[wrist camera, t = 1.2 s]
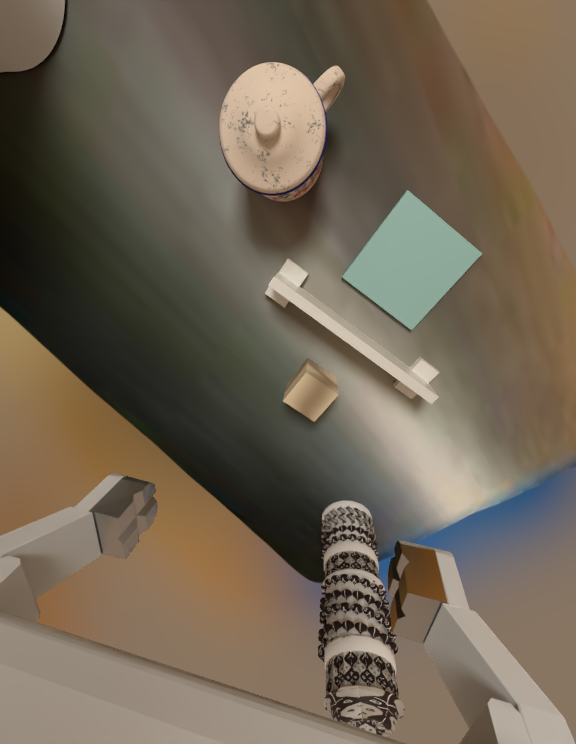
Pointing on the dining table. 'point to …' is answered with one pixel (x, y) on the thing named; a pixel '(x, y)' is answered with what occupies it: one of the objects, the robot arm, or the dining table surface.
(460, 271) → the pad
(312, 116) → the teacup with lid
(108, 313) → the dining table surface
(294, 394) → the maple block
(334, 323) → the divider wall
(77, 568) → the robot arm
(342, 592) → the decorative candle
